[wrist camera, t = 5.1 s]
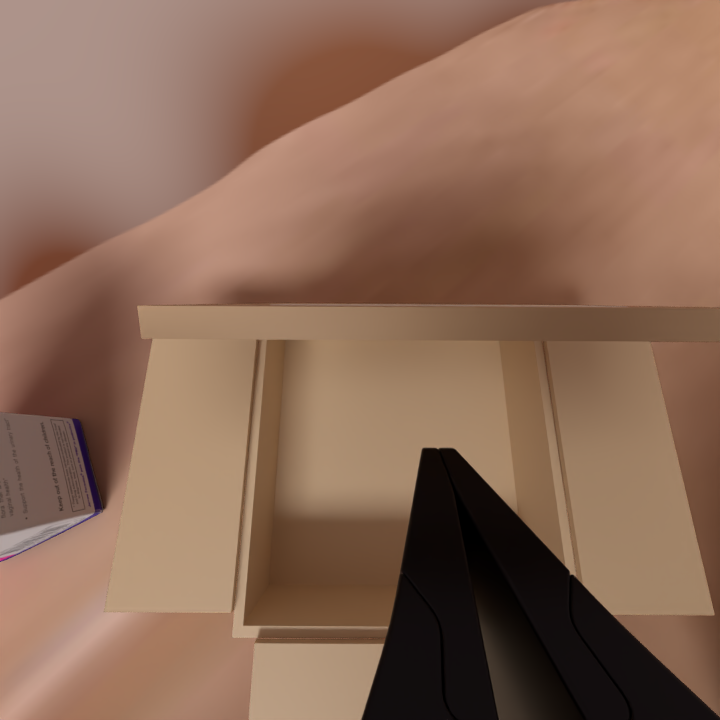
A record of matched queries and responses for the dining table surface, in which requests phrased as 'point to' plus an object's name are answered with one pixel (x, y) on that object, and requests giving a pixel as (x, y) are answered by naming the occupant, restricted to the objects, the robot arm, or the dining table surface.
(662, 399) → the carton
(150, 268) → the dining table surface
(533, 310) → the flap
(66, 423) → the supplement box
